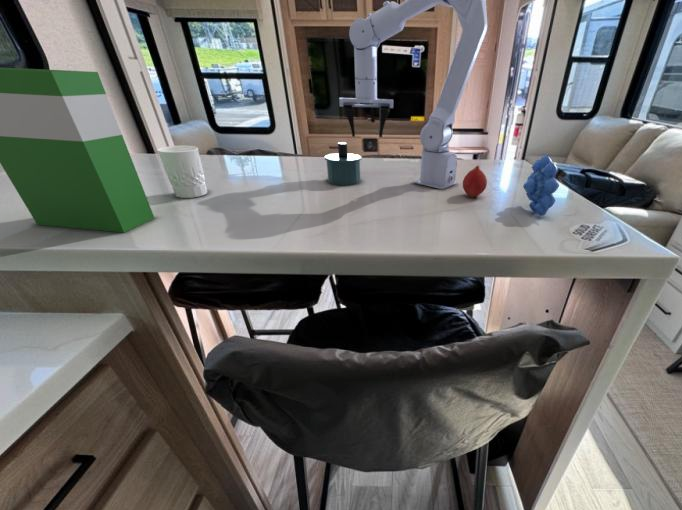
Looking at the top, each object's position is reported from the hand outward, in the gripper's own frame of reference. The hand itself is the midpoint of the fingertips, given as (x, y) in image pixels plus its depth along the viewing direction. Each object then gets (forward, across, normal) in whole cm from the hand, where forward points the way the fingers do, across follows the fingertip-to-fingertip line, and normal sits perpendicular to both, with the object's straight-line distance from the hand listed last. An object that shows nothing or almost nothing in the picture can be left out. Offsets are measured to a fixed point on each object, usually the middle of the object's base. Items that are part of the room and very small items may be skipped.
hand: (367, 136), depth 95 cm
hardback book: (+11, -53, -37) cm, 66 cm away
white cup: (+11, -43, -20) cm, 48 cm away
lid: (+4, -7, -8) cm, 11 cm away
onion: (+11, +25, -24) cm, 37 cm away
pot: (+10, -7, -8) cm, 15 cm away
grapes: (+11, +36, -35) cm, 51 cm away
